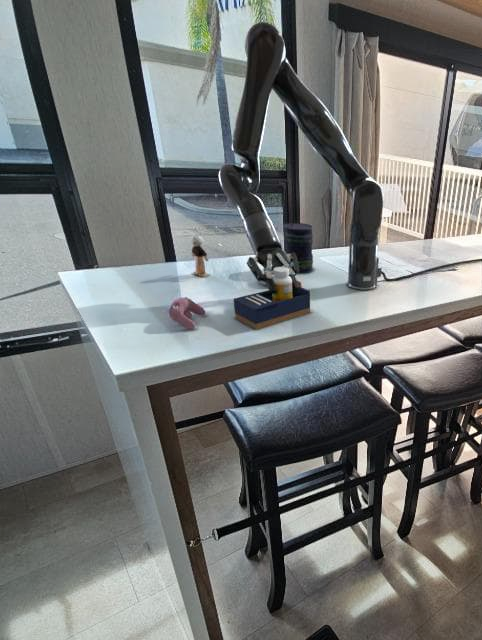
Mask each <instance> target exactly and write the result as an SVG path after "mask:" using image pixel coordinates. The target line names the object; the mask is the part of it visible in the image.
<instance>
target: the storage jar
mask: <svg viewBox="0 0 482 640" xmlns="http://www.w3.org/2000/svg"><path fill="white" fill-rule="evenodd" d="M313 234H314V233H313V226H312V225H310V224H307V223H302V222H287V223H284V224H283V242H284V252H285V253H286V254H292V253H293V252H294V253H296V257H297V261H298V266H299V270H300V271H299V272H298V274H300V275H301V274H302V275H303V274H309V273H312V272H313V270H314V268H313V265H314V254H313V242H314V240H313V239H314V238H313V237H314V235H313ZM285 261H286V262H287V263H288V264H289V265H290V262H288V260H287V259H285ZM290 268H291V265H290Z"/></svg>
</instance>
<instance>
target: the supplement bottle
mask: <svg viewBox="0 0 482 640" xmlns="http://www.w3.org/2000/svg"><path fill="white" fill-rule="evenodd" d="M274 275H275V276H273V277H272V279H273V281H274V283H275V286H276V288H277V293H276V294H274V295H273V294H272V298H273V301H274V302H279V301H282V300H286V299H290V298H293V292H292V279H291V277H290V276H288V275H289V269H288V268H286V267H284V266H283V267H276V268H274Z"/></svg>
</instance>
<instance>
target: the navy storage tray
mask: <svg viewBox="0 0 482 640" xmlns="http://www.w3.org/2000/svg"><path fill="white" fill-rule="evenodd" d="M297 283H298V288H297V290H296V291H293V290H292V292H293V298H290V299H286V300H282V301H279V302H274V301H273V298H272V293H270V291H269V289H267V290H264V291H259V292H255V293H251V294H246V295H243V296H239V297H235V298H233V300H232V301H233V308H234V309H233V310H234V317H235V318H234V319H236V320H238V321H240V322H242V323H243V324H245V325H247V326H249V327H251V328H252V329H254V330H259V329H260V330H261V329H263V328H266V327H270V326H272V325H276V324H279V323H282V322H285V321H287V320H291V319H294V318H297V317H300V316H304V315H307V314H310V313H311V290H310V289H307V288H304V287H302V282H301V281H299V280H297Z"/></svg>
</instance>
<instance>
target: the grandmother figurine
mask: <svg viewBox="0 0 482 640" xmlns="http://www.w3.org/2000/svg"><path fill="white" fill-rule="evenodd" d="M190 238H191V244H192V245H193V246H192V249H191V256H192V257H193V258H194V259H195V265H194V267H195V271H194V272H193V275H195V276H199V277H200V278H204V277H208V275H209V274H208V273H207V271H206V270H207V269H206V263H205V262H209V260H210V259H209V258H208V253H207V252H206V251H205V250H204V249H203V247H202V244H203V243H204V242H205V241H204V239H203V238H202V236H200V235H199V234H192V235H191V237H190Z"/></svg>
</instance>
